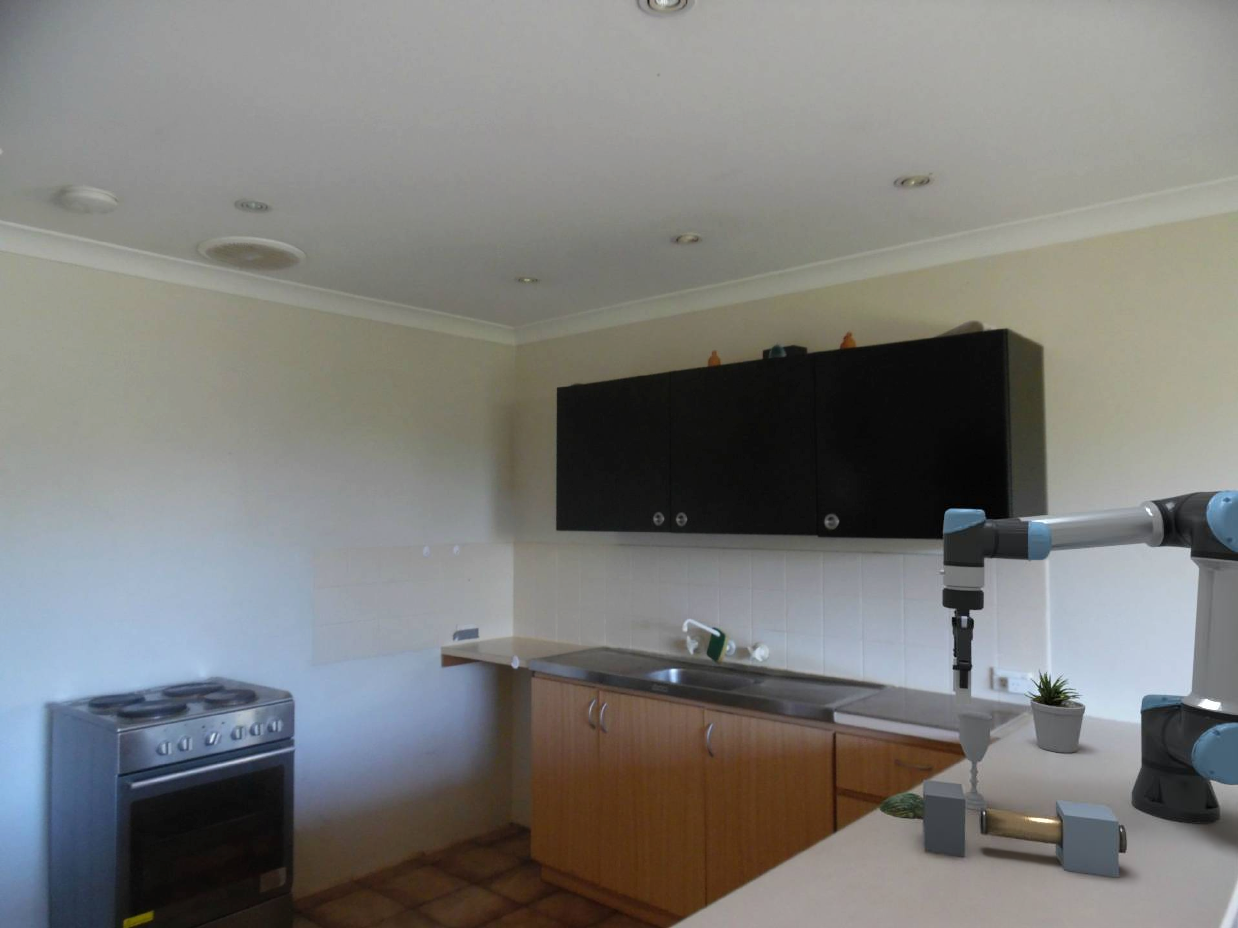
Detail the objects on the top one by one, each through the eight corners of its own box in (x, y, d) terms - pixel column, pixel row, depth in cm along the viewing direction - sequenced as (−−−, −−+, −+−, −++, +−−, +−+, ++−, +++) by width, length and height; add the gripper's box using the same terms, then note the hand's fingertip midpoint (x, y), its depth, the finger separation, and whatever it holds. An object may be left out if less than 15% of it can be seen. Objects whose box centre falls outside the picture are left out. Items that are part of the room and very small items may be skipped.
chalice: (995, 813, 170) (996, 720, 171) (959, 809, 172) (960, 718, 173) (987, 801, 178) (988, 712, 179) (952, 797, 179) (953, 709, 180)
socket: (960, 838, 156) (961, 783, 157) (964, 857, 148) (965, 799, 148) (922, 833, 158) (923, 779, 159) (924, 851, 150) (925, 794, 150)
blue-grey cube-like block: (1106, 859, 149) (1107, 805, 149) (1118, 877, 141) (1118, 821, 142) (1055, 852, 151) (1055, 799, 152) (1064, 869, 144) (1064, 814, 144)
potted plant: (1030, 738, 230) (1030, 662, 231) (1088, 748, 222) (1088, 669, 223) (1020, 748, 220) (1020, 668, 221) (1081, 758, 212) (1081, 676, 213)
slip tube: (1120, 847, 147) (1120, 821, 147) (1126, 857, 143) (1126, 830, 143) (979, 829, 154) (979, 804, 154) (981, 837, 149) (981, 812, 150)
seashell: (904, 780, 177) (943, 795, 168) (905, 800, 177) (944, 816, 168) (868, 790, 172) (906, 806, 164) (868, 810, 172) (907, 828, 164)
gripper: (941, 582, 181) (939, 684, 180) (943, 591, 158) (942, 709, 157) (980, 584, 179) (978, 688, 178) (988, 594, 155) (987, 714, 154)
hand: (961, 698), depth 167 cm, fingers open, 13 cm apart
